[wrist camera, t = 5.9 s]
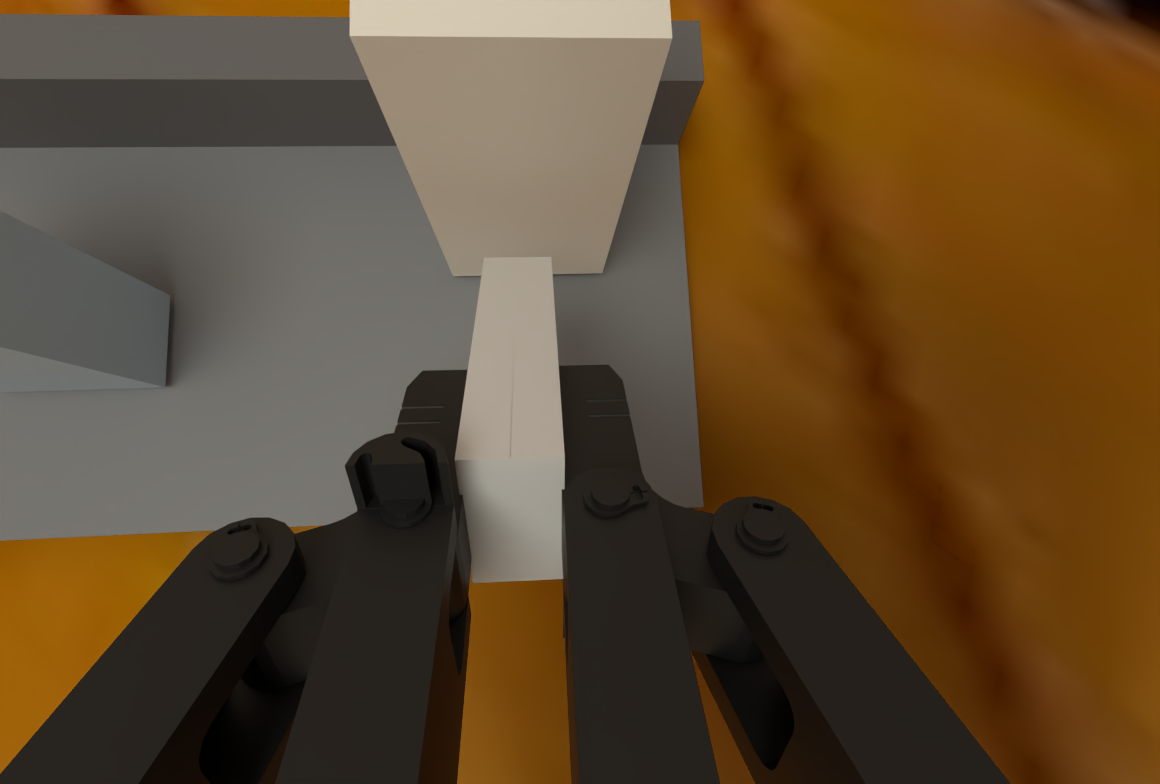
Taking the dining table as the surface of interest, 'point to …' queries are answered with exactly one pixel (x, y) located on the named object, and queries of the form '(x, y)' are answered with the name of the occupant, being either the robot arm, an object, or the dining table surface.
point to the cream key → (516, 117)
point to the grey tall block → (74, 318)
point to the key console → (285, 271)
